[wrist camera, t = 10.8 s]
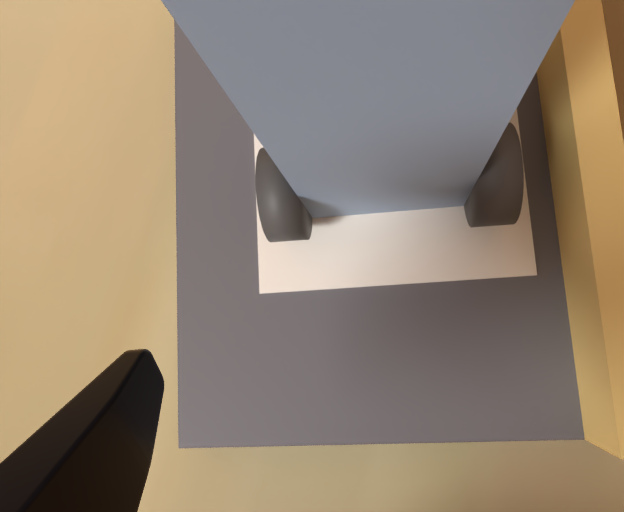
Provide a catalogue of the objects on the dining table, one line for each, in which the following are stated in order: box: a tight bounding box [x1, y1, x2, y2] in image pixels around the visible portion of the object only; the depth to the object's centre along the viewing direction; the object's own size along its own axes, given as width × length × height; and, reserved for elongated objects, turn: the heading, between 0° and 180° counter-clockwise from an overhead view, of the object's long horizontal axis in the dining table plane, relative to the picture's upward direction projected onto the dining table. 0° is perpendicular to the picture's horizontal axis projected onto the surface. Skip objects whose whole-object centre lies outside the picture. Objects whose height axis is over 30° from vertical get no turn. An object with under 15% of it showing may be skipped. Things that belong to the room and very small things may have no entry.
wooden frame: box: [174, 0, 624, 460], centre depth 17 cm, size 18×14×4 cm
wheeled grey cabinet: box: [161, 0, 575, 242], centre depth 11 cm, size 8×7×13 cm
